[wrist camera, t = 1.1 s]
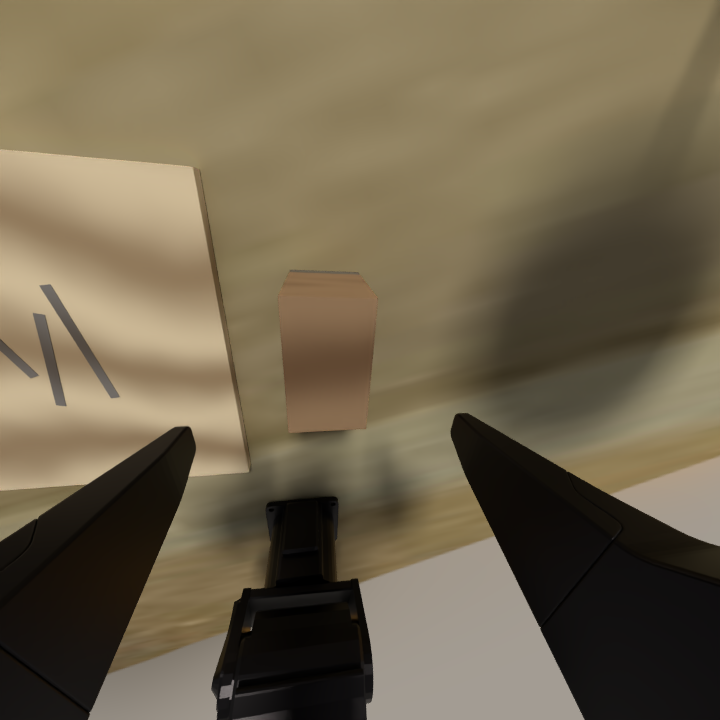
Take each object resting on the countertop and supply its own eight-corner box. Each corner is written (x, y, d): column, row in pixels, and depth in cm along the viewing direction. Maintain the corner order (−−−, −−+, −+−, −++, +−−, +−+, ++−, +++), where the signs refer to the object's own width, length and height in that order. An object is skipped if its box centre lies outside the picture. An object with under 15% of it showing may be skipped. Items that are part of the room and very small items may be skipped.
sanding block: (352, 371, 20) (366, 428, 14) (296, 373, 19) (288, 432, 14) (358, 272, 16) (378, 298, 11) (290, 269, 16) (277, 296, 11)
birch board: (250, 464, 22) (248, 472, 21) (-13, 482, 19) (-26, 493, 19) (199, 169, 13) (192, 166, 12) (-317, 123, 10) (-365, 116, 9)
